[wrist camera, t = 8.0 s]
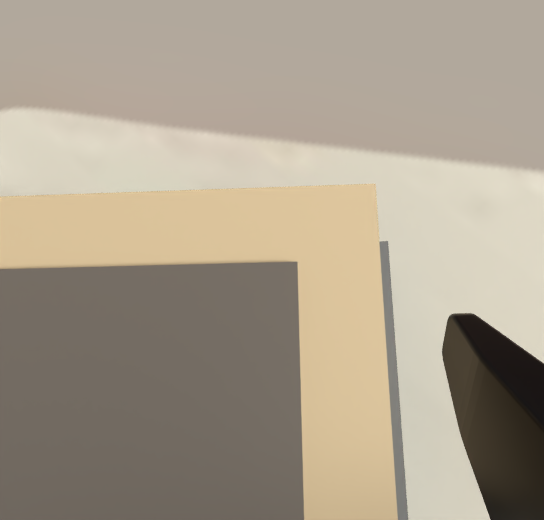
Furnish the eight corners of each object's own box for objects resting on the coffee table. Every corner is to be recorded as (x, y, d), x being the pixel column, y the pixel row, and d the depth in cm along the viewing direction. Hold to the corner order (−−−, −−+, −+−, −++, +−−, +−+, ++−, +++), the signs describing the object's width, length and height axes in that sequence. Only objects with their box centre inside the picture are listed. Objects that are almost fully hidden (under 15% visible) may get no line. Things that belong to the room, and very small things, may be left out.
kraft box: (327, 468, 16) (420, 818, 4) (177, 468, 16) (-223, 792, 4) (321, 315, 17) (376, 175, 5) (181, 318, 17) (-115, 192, 5)
